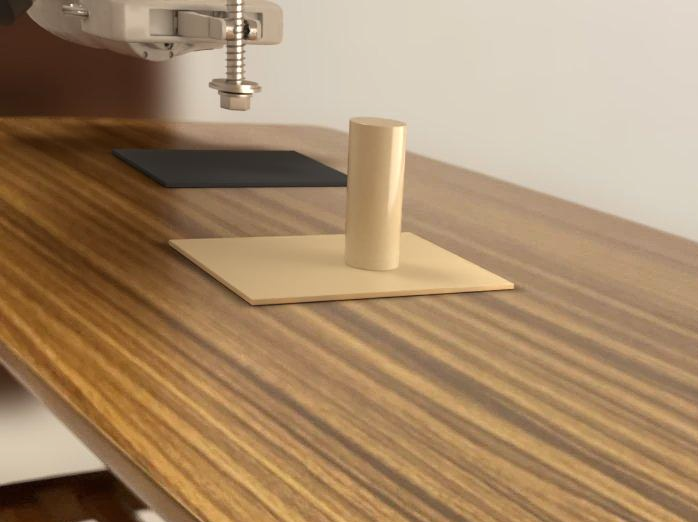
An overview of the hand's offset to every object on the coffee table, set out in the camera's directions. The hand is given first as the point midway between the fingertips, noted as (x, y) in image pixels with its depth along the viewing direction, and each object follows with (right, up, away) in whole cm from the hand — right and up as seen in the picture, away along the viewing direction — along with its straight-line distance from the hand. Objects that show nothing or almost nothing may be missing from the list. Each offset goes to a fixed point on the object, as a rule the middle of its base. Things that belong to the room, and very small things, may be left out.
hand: (242, 30), depth 113 cm
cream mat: (+13, -27, -23) cm, 38 cm away
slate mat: (-2, -11, +6) cm, 13 cm away
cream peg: (+15, -27, -23) cm, 38 cm away
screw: (-2, -6, +4) cm, 7 cm away
